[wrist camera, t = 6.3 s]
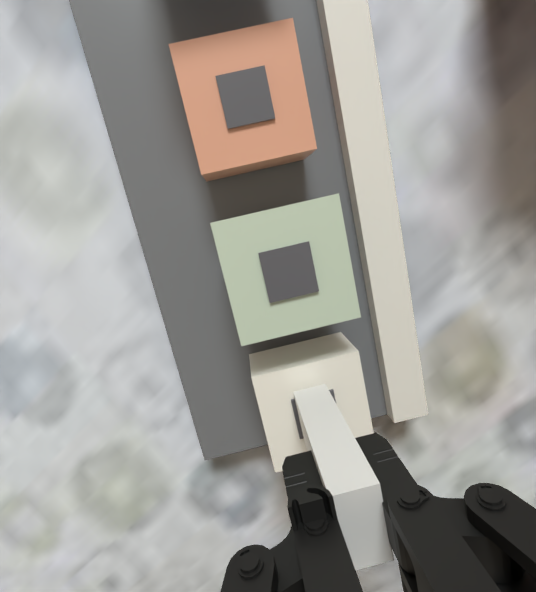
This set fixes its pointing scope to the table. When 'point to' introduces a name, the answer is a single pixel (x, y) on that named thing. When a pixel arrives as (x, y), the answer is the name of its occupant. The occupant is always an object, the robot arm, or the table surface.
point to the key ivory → (301, 375)
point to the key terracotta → (245, 99)
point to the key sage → (287, 269)
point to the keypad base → (254, 197)
